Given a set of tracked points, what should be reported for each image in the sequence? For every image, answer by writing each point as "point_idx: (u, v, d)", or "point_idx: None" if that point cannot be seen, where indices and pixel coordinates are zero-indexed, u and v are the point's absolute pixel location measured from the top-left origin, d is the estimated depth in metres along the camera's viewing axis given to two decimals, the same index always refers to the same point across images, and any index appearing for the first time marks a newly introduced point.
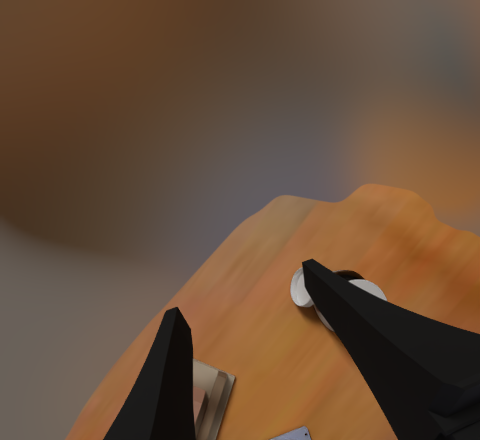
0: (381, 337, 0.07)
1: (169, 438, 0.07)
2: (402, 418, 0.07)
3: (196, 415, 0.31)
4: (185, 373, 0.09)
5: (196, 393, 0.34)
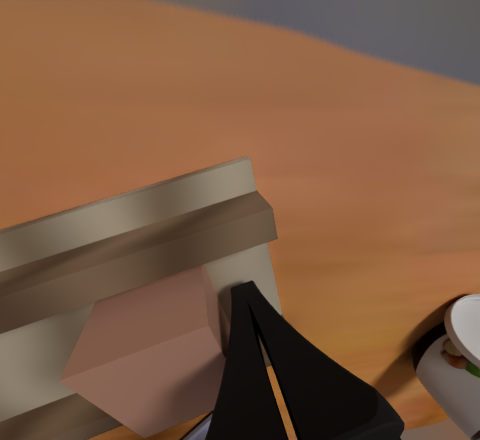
0: (279, 378, 0.06)
1: (273, 395, 0.07)
2: None
3: (212, 408, 0.10)
4: (259, 344, 0.10)
5: None
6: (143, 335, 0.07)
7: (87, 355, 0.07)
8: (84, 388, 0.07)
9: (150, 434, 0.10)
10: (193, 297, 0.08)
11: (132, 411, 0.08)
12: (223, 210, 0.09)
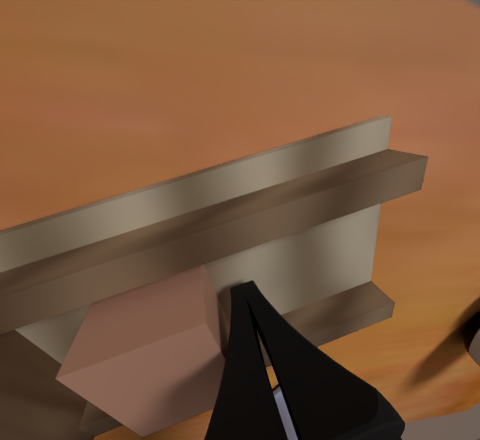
0: (279, 378, 0.06)
1: (273, 395, 0.07)
2: None
3: (211, 406, 0.10)
4: (259, 344, 0.10)
5: None
6: (140, 334, 0.07)
7: (84, 353, 0.07)
8: (81, 386, 0.07)
9: (148, 433, 0.10)
10: (191, 294, 0.08)
11: (130, 409, 0.08)
12: (370, 163, 0.09)
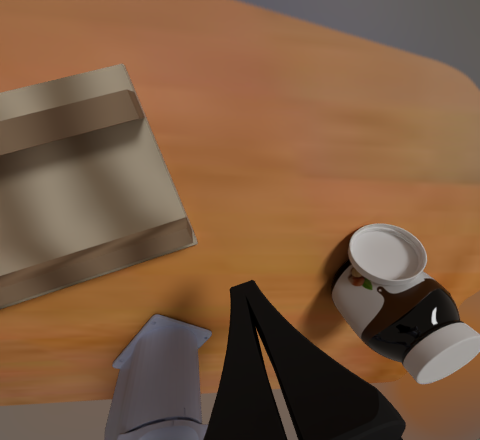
0: (280, 378, 0.06)
1: (272, 395, 0.07)
2: None
3: None
4: (258, 345, 0.10)
5: None
6: None
7: None
8: None
9: None
10: None
11: None
12: None
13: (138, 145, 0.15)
